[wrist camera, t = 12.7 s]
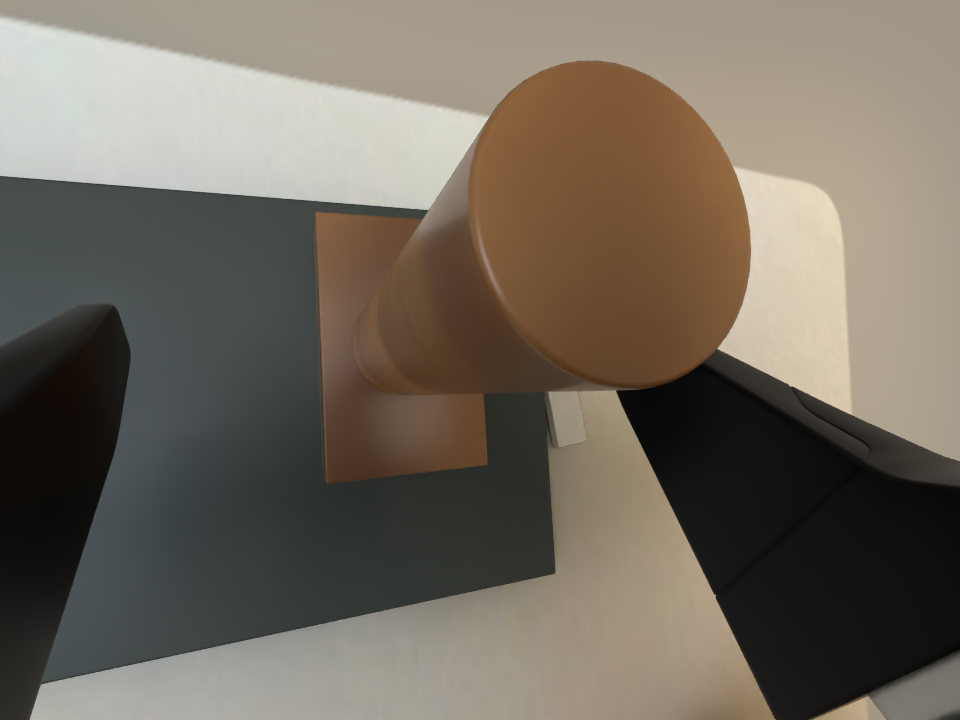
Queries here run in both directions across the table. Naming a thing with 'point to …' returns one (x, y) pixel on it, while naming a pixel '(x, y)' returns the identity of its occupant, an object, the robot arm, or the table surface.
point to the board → (244, 434)
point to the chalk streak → (565, 418)
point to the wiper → (529, 272)
